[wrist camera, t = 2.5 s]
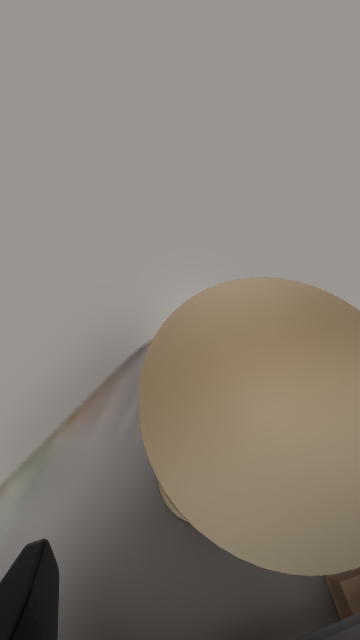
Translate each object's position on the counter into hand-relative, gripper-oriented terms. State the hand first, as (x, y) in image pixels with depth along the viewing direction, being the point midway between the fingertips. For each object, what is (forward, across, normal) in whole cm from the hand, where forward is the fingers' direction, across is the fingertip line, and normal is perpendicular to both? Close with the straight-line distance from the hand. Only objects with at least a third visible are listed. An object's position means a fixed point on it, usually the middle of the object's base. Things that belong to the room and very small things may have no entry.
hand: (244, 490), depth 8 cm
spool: (+7, 0, +6) cm, 9 cm away
